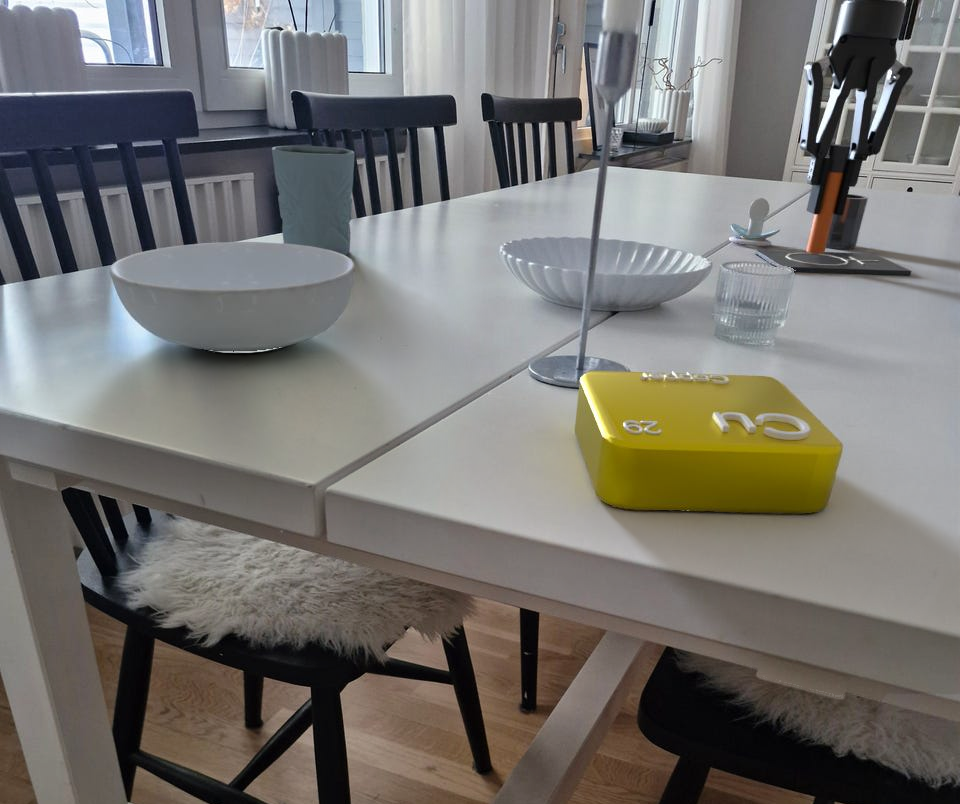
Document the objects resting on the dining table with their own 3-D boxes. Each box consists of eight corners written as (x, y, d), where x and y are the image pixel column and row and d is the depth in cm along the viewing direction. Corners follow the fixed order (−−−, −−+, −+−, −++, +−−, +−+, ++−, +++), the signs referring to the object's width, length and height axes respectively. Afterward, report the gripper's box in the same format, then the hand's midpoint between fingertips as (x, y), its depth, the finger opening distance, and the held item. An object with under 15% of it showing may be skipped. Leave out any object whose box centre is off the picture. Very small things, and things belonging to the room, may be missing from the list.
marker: (820, 250, 125) (845, 144, 118) (827, 254, 123) (853, 146, 115) (802, 250, 125) (826, 143, 117) (809, 253, 122) (834, 145, 115)
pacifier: (769, 251, 134) (779, 244, 138) (778, 205, 130) (788, 199, 134) (721, 244, 136) (732, 238, 141) (729, 199, 133) (740, 194, 137)
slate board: (873, 257, 132) (874, 252, 131) (910, 275, 122) (912, 270, 121) (754, 253, 130) (755, 248, 130) (781, 271, 120) (782, 265, 120)
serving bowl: (249, 302, 95) (242, 232, 91) (402, 340, 85) (401, 263, 81) (74, 342, 80) (57, 260, 76) (234, 393, 71) (224, 302, 67)
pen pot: (846, 243, 141) (858, 194, 138) (861, 249, 137) (874, 199, 133) (812, 241, 141) (823, 192, 137) (825, 248, 136) (837, 198, 132)
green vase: (263, 251, 117) (254, 147, 111) (317, 241, 124) (311, 143, 118) (320, 263, 113) (315, 155, 106) (373, 252, 120) (370, 150, 113)
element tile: (765, 430, 68) (779, 368, 66) (836, 517, 56) (857, 444, 53) (570, 425, 68) (577, 361, 65) (599, 511, 55) (608, 437, 53)
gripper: (922, 4, 111) (868, 210, 125) (800, -4, 110) (759, 206, 123) (952, 2, 105) (892, 219, 118) (823, -6, 104) (777, 215, 117)
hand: (824, 212), depth 121 cm, fingers closed on marker, 3 cm apart
